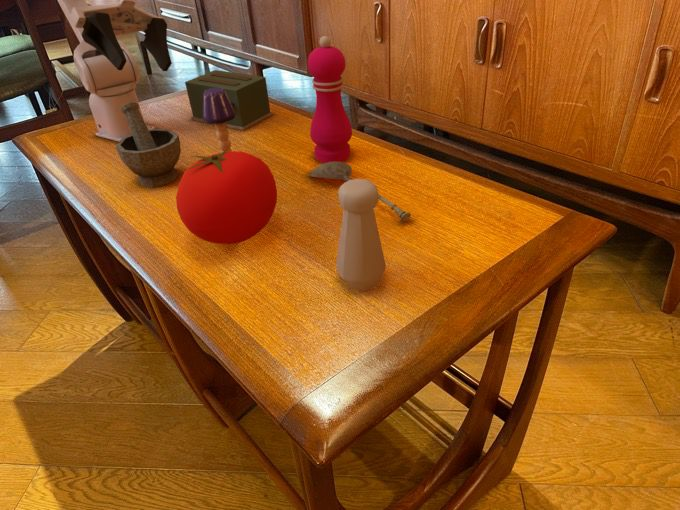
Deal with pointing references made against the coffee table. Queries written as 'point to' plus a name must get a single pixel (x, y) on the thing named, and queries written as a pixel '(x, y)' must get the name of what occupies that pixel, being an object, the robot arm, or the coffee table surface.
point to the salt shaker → (359, 236)
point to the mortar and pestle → (148, 150)
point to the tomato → (226, 197)
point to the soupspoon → (343, 173)
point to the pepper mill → (329, 104)
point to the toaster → (232, 96)
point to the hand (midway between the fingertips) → (145, 66)
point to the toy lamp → (218, 114)
